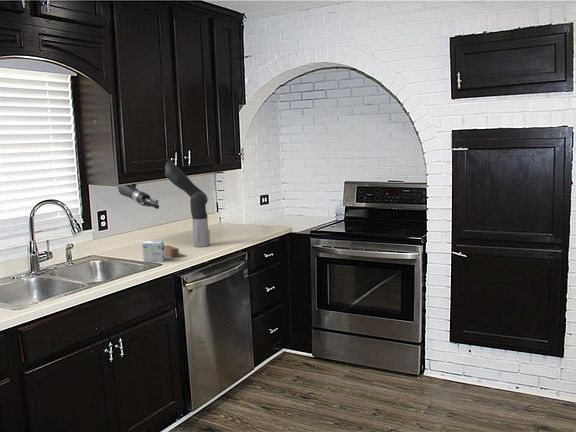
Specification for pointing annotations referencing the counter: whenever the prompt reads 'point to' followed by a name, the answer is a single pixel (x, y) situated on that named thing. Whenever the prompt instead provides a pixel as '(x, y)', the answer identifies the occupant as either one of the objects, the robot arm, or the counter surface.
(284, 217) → the counter surface
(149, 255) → the light bulb box
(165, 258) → the mat
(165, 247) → the walnut block
